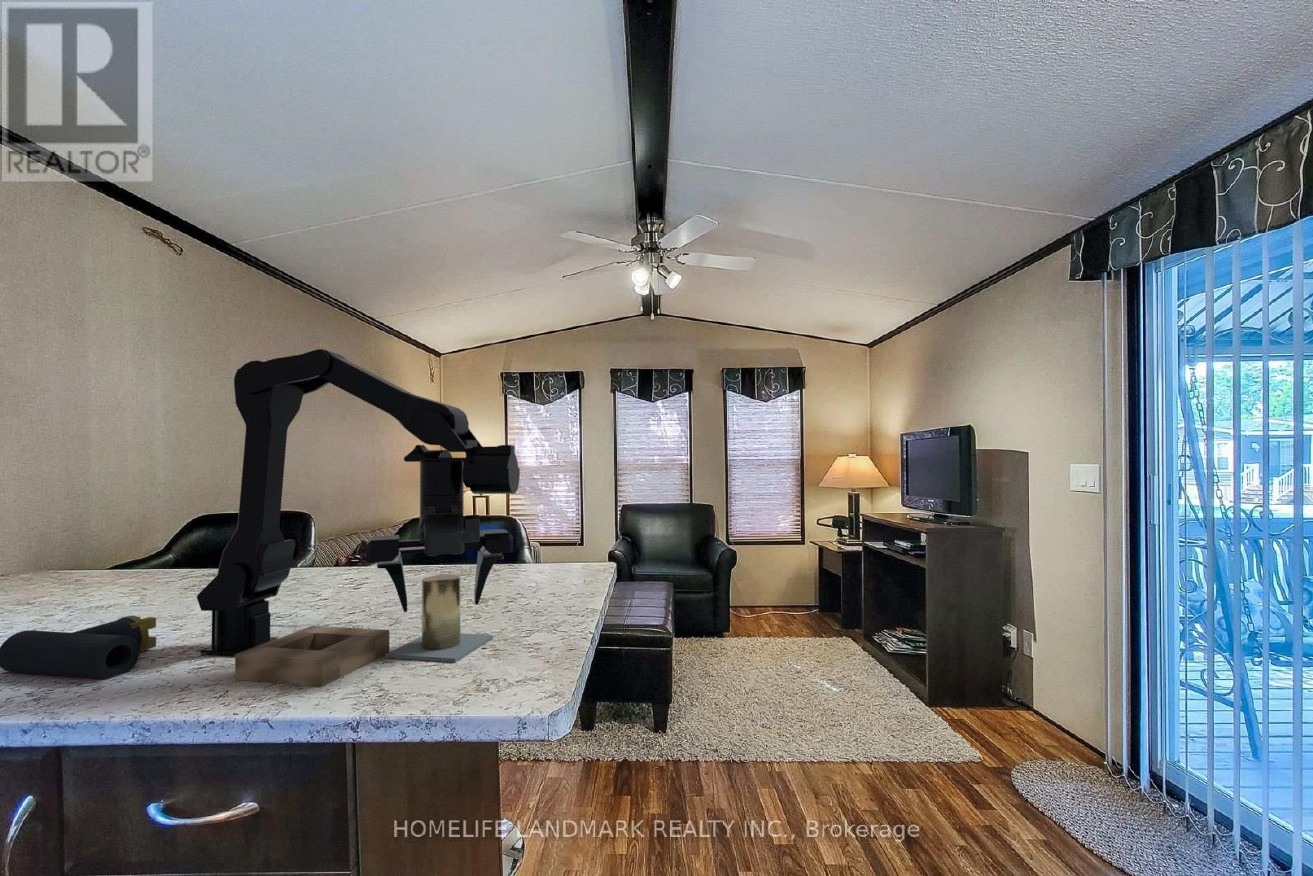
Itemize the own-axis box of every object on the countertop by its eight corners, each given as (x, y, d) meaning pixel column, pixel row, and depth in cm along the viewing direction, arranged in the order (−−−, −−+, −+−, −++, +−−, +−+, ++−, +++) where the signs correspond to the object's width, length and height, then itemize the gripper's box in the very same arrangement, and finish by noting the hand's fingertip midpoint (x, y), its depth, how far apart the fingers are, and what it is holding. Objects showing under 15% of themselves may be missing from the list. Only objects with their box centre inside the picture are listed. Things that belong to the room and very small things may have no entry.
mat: (386, 657, 77) (386, 654, 77) (430, 635, 87) (430, 631, 87) (455, 662, 75) (455, 658, 75) (492, 638, 85) (492, 635, 85)
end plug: (414, 649, 79) (414, 581, 80) (435, 637, 84) (435, 574, 84) (447, 651, 78) (447, 583, 79) (467, 639, 83) (467, 575, 83)
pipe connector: (100, 610, 84) (189, 614, 81) (100, 647, 84) (189, 653, 81) (-4, 636, 72) (95, 642, 70) (-4, 679, 72) (96, 687, 70)
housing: (235, 679, 70) (235, 654, 70) (313, 647, 82) (313, 625, 82) (321, 686, 68) (321, 660, 68) (389, 652, 80) (389, 630, 80)
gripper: (363, 500, 71) (362, 632, 70) (520, 495, 78) (520, 614, 78) (368, 495, 81) (367, 610, 81) (506, 491, 88) (506, 596, 88)
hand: (441, 607), depth 81 cm, fingers open, 9 cm apart
